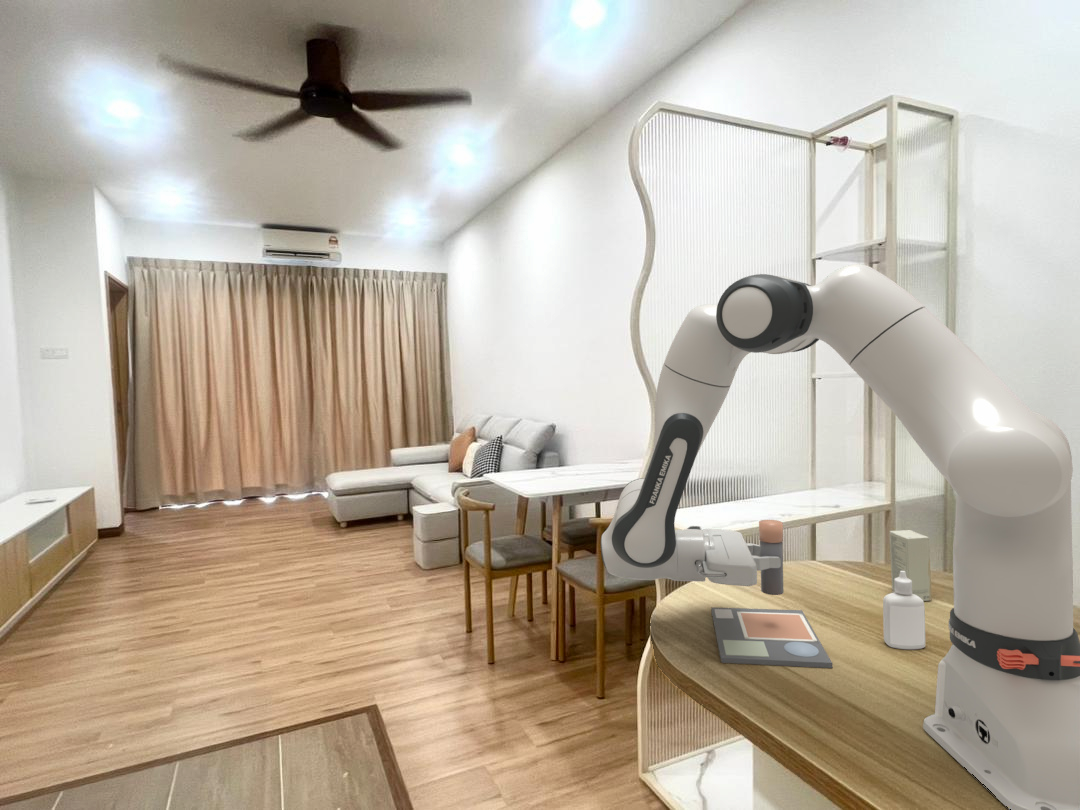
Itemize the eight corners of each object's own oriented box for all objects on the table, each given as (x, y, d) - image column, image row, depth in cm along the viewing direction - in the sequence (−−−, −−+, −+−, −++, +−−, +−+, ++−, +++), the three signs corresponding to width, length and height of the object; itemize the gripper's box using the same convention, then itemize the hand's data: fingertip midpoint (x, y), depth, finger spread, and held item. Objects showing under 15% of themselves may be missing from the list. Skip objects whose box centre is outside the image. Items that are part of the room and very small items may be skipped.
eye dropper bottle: (923, 654, 91) (922, 578, 91) (882, 646, 95) (880, 572, 94) (926, 644, 95) (925, 570, 94) (886, 635, 98) (884, 564, 98)
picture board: (832, 668, 89) (832, 662, 89) (721, 662, 92) (721, 656, 92) (802, 614, 108) (801, 609, 108) (711, 611, 112) (711, 606, 111)
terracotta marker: (786, 595, 100) (784, 525, 99) (762, 594, 100) (760, 525, 100) (781, 587, 103) (780, 519, 103) (758, 586, 104) (757, 519, 103)
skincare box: (932, 601, 111) (931, 537, 111) (908, 602, 111) (907, 538, 111) (912, 589, 117) (911, 529, 117) (889, 590, 118) (888, 530, 117)
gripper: (696, 555, 94) (789, 557, 91) (690, 523, 114) (766, 523, 111) (697, 594, 94) (790, 597, 91) (691, 555, 114) (767, 556, 111)
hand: (777, 556), depth 101 cm, fingers closed on terracotta marker, 4 cm apart
